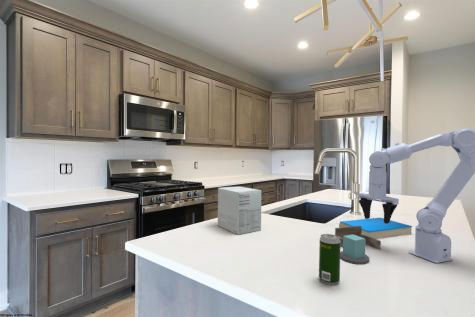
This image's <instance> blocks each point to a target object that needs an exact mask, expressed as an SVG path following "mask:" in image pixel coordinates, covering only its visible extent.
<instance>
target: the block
mask: <svg viewBox="0 0 475 317" xmlns="http://www.w3.org/2000/svg"><path fill="white" fill-rule="evenodd" d="M342 251H343V254H345V255H347V256H349V257H351V258H353V259H358V258H363V257H365V254H366V244H365V238H362V237H359V236H356V235H346V236H343V247H342Z"/></svg>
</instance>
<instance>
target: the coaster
mask: <svg viewBox="0 0 475 317" xmlns="http://www.w3.org/2000/svg"><path fill="white" fill-rule="evenodd" d="M340 260H341V261H344V262H346V263H349V264H354V265H366V264H369V263H370V256H369V255H368V254H366V253H365V257H363V258H358V259H353V258H351V257H349V256H347V255H345V254H343V250H340Z"/></svg>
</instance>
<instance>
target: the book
mask: <svg viewBox="0 0 475 317" xmlns="http://www.w3.org/2000/svg"><path fill="white" fill-rule="evenodd" d="M338 224H339V225H338V228H340V227H350V226H362V234H364V235H366V236H369V237H372V238H374V239H377V240H378V239H384V238H392V237H398V236H406V235H412V228H413V226H412V225H409V224H406V223H402V222H397V221H394V220H391V219H390V222H389V223H387V224H385V223H384V217H370V218H368V219H365V218H364V219H363V218H360V219H352V220H351V219H350V220H342V221H339V223H338Z"/></svg>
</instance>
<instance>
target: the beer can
mask: <svg viewBox="0 0 475 317" xmlns="http://www.w3.org/2000/svg"><path fill="white" fill-rule="evenodd" d="M340 244H341V242H340V237H339V236H336V235H335V234H331V233H330V234H329V233H324V234H321V235H320V237H319V246H318V247H319V248H318V249H319V253H318V255H319V256H318V257H319V259H318V278H319V281H320V282H322V283H323V284H324V285H330V286H337V285H338V284H339V282H340V280H341V278H340V277H341V259H340V252H341V246H340Z"/></svg>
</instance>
